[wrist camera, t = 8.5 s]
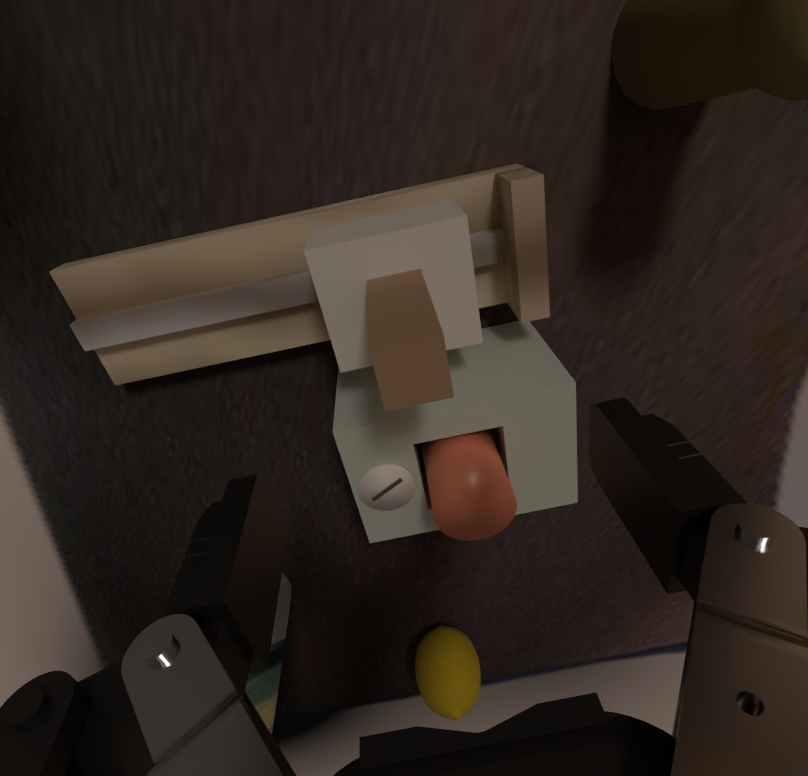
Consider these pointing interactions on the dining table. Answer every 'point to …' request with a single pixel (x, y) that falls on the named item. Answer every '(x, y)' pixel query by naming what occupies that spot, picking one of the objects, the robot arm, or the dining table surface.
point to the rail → (285, 278)
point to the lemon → (447, 672)
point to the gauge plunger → (468, 486)
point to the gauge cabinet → (462, 430)
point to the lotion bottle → (271, 662)
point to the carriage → (398, 297)
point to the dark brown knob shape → (710, 50)
